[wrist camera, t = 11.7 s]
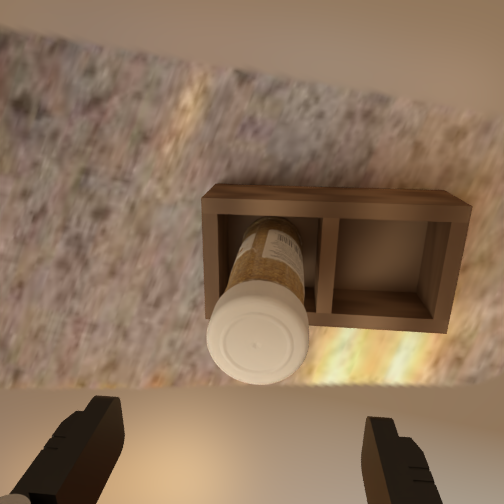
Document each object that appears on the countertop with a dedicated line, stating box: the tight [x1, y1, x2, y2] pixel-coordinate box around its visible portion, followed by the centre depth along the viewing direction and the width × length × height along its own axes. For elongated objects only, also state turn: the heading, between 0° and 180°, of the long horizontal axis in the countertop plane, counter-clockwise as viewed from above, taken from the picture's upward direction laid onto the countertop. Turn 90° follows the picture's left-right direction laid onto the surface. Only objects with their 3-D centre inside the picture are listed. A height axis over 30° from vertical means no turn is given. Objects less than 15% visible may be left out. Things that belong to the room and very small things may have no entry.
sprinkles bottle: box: [206, 217, 309, 385], centre depth 23 cm, size 5×5×14 cm
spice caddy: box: [201, 184, 472, 334], centre depth 28 cm, size 16×9×5 cm, turn 90°
